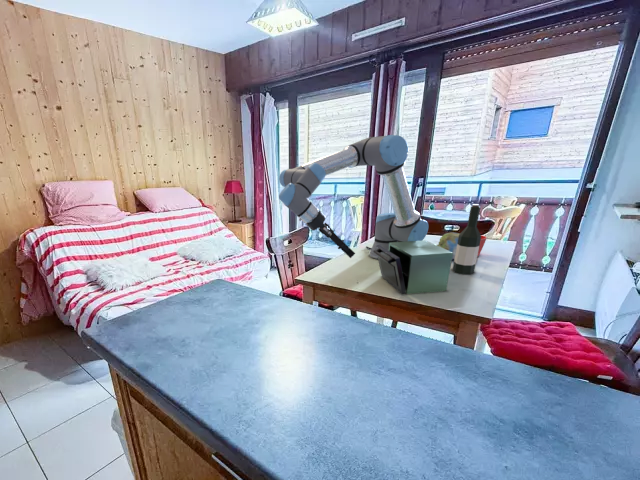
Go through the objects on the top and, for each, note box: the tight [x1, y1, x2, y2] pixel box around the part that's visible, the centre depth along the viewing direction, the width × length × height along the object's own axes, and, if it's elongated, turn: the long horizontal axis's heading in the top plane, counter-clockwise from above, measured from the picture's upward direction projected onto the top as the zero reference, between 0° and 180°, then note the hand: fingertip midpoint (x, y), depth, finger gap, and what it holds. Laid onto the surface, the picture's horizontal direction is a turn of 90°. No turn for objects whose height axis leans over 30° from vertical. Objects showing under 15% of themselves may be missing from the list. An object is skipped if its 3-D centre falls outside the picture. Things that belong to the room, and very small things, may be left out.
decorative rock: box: [436, 232, 460, 260], centre depth 165 cm, size 14×16×15 cm
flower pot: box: [477, 234, 487, 257], centre depth 169 cm, size 11×11×10 cm
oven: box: [389, 239, 453, 295], centre depth 136 cm, size 16×20×16 cm
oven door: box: [373, 245, 407, 295], centre depth 136 cm, size 4×20×16 cm, turn 2°
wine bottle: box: [452, 203, 482, 275], centre depth 143 cm, size 8×8×30 cm
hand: (352, 255), depth 133 cm, fingers closed
